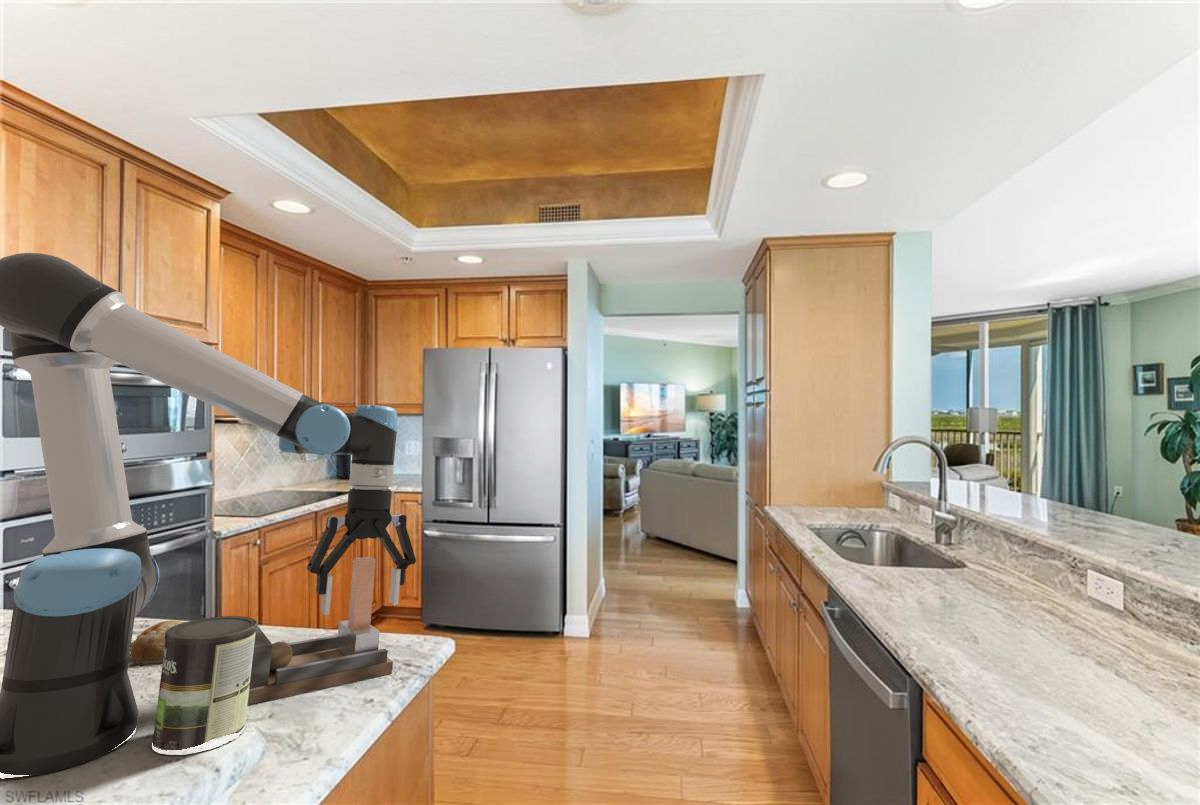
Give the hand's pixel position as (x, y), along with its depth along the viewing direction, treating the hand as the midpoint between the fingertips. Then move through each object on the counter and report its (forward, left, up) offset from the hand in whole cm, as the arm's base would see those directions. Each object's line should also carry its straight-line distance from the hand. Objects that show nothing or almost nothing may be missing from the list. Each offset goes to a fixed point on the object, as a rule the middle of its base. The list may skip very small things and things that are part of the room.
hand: (360, 608), depth 100 cm
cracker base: (-7, 0, -10) cm, 12 cm away
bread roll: (-26, +25, -11) cm, 38 cm away
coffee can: (-24, -14, -10) cm, 30 cm away
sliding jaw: (0, 0, -8) cm, 8 cm away
